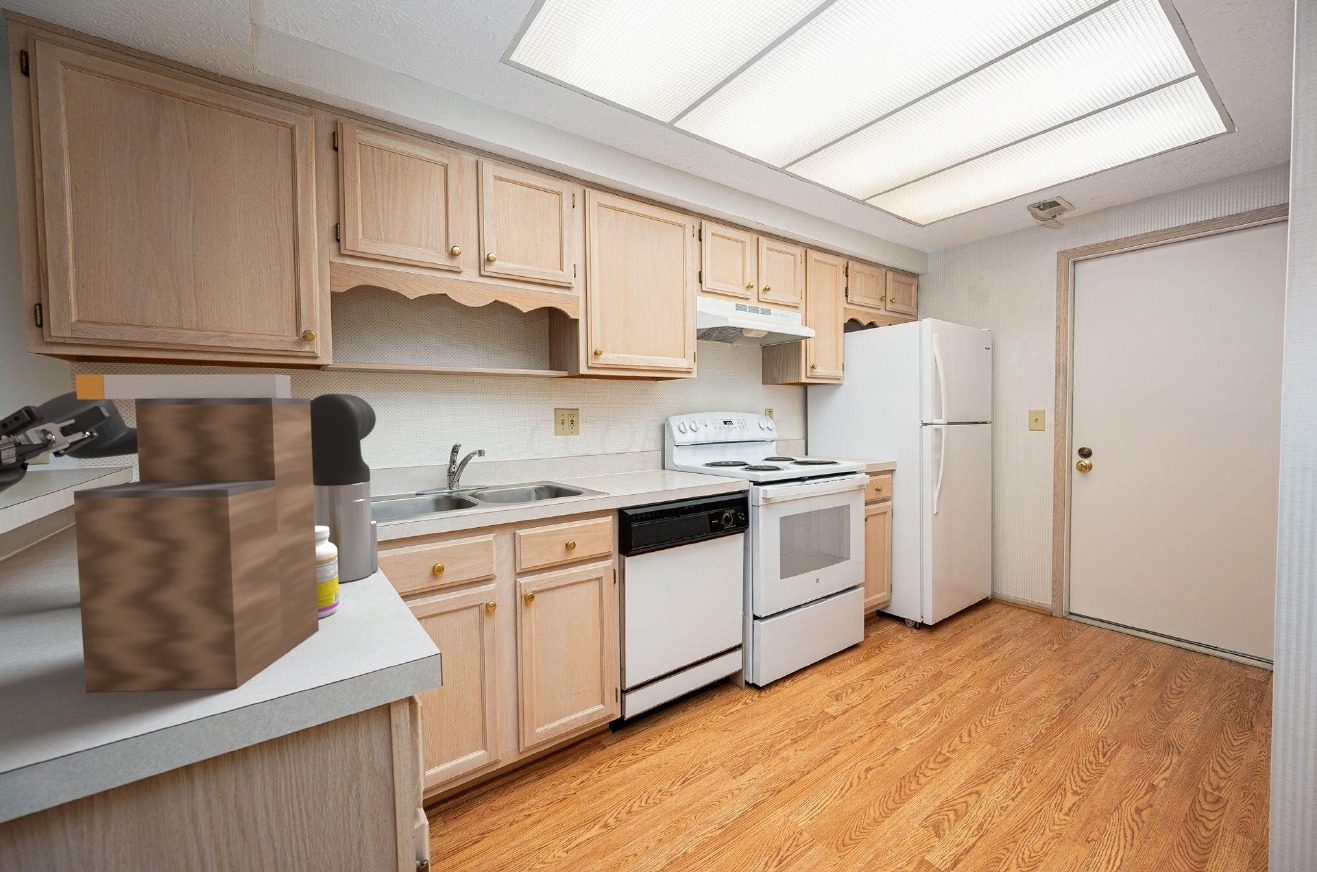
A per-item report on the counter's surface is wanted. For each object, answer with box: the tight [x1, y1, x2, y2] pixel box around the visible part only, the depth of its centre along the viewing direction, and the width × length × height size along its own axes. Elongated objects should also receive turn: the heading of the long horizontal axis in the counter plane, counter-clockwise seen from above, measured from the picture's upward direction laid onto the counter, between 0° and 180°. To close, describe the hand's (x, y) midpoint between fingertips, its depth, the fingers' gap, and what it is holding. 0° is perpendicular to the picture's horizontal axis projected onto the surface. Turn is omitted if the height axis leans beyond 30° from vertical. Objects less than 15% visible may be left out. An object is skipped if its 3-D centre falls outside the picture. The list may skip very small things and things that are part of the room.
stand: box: [73, 397, 320, 693], centre depth 69 cm, size 16×16×32 cm
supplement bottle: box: [315, 526, 340, 620], centre depth 84 cm, size 7×7×13 cm
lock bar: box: [75, 373, 292, 401], centre depth 72 cm, size 24×3×3 cm, turn 92°
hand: (73, 411), depth 71 cm, fingers open, 8 cm apart
